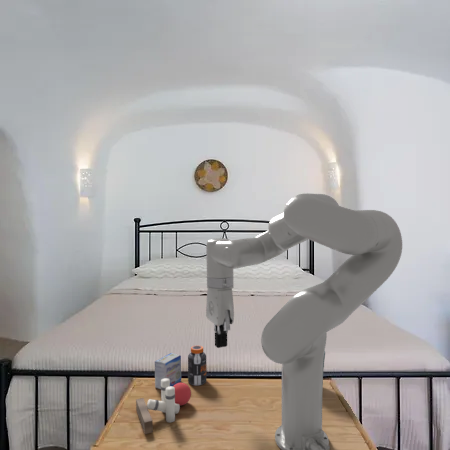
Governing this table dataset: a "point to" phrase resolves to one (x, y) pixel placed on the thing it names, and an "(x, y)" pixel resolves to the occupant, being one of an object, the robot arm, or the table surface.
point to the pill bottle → (197, 366)
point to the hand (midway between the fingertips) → (221, 346)
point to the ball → (182, 393)
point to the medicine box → (168, 369)
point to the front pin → (160, 406)
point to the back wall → (144, 416)
